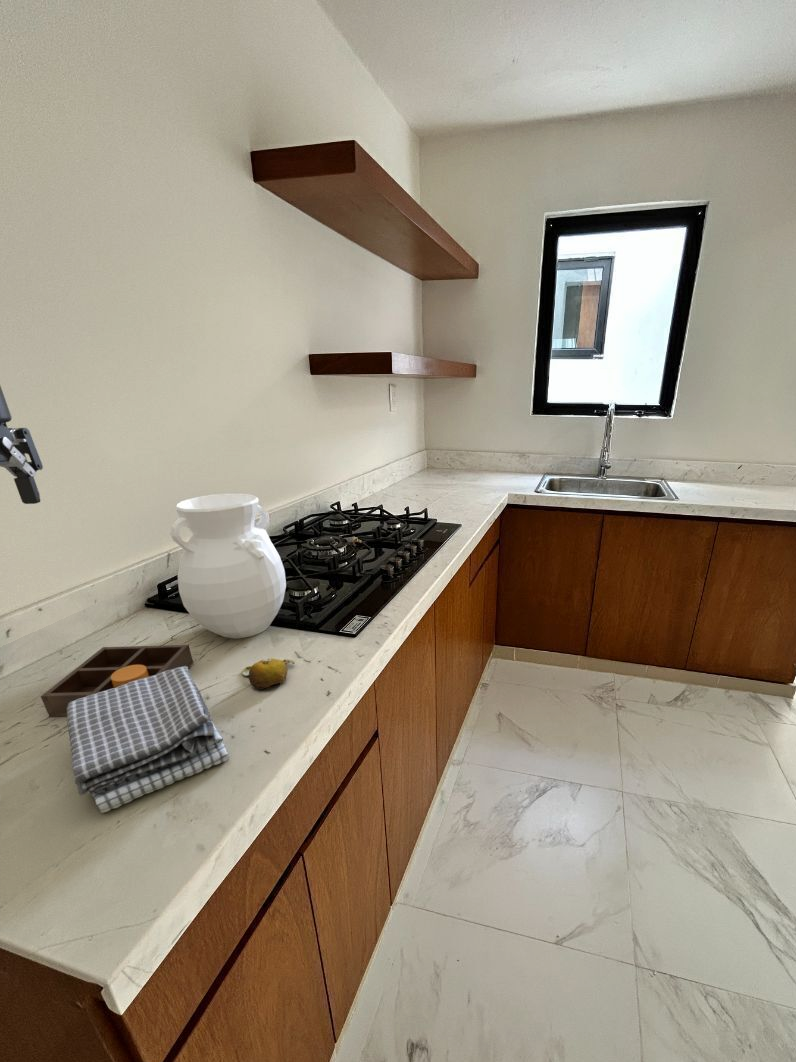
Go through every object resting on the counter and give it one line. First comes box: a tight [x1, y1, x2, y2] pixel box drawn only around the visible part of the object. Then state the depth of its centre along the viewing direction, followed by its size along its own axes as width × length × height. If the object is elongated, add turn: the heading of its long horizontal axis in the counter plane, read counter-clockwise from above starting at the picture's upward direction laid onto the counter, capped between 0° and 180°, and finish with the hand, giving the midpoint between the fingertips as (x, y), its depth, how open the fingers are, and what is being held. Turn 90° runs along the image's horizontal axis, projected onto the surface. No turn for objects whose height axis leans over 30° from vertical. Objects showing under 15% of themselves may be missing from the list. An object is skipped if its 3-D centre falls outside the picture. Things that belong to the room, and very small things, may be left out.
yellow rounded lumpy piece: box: [241, 658, 295, 691], centre depth 80 cm, size 8×8×4 cm
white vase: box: [170, 492, 287, 640], centre depth 93 cm, size 19×18×25 cm
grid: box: [40, 644, 194, 718], centre depth 78 cm, size 14×14×4 cm
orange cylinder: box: [111, 665, 149, 688], centre depth 75 cm, size 5×5×4 cm
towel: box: [66, 666, 230, 814], centre depth 63 cm, size 15×18×8 cm
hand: (9, 510), depth 70 cm, fingers open, 8 cm apart
